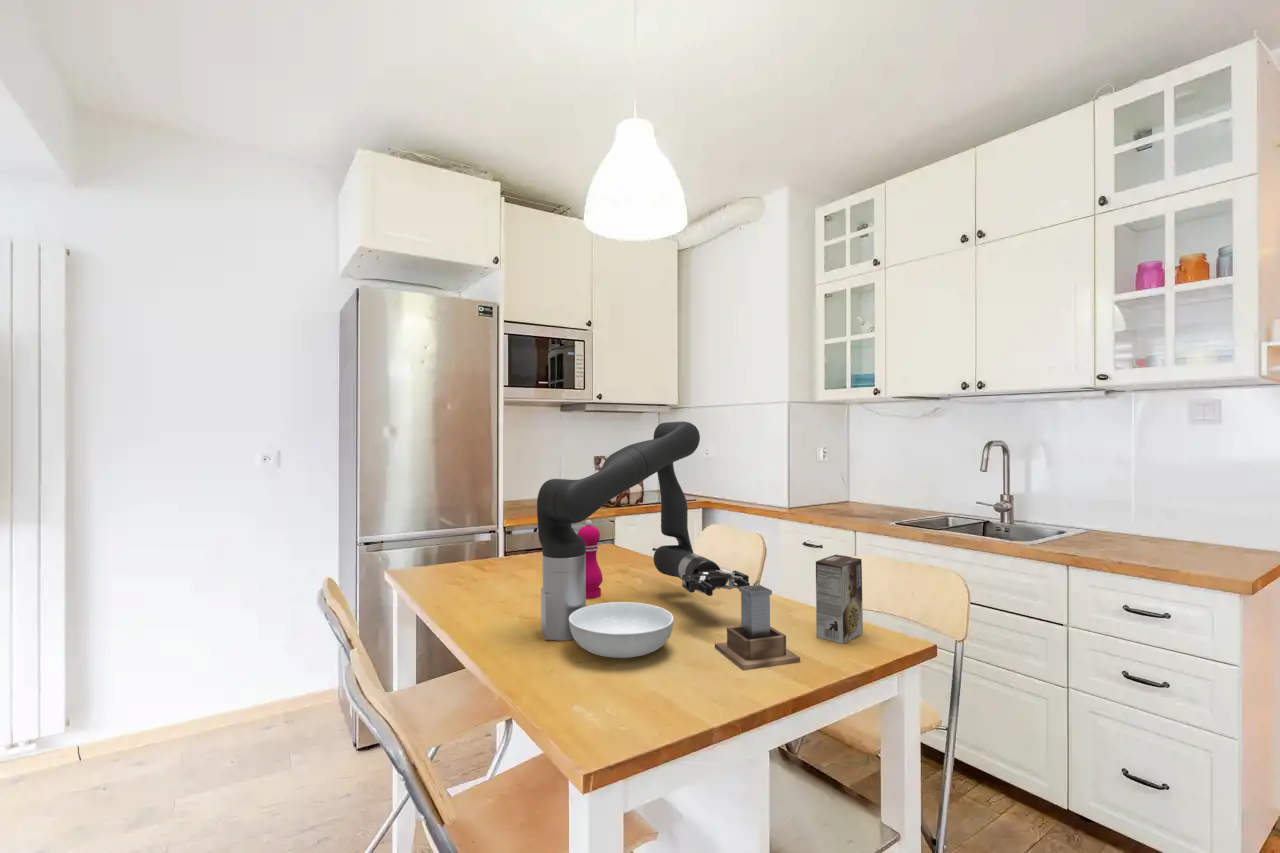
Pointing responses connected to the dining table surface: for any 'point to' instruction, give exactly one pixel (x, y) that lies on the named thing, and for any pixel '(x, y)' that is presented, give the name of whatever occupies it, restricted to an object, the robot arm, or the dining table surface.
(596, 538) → the pepper mill
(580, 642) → the serving bowl
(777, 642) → the box
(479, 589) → the dining table surface
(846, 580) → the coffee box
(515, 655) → the dining table surface
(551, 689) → the dining table surface
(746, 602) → the grey square peg
